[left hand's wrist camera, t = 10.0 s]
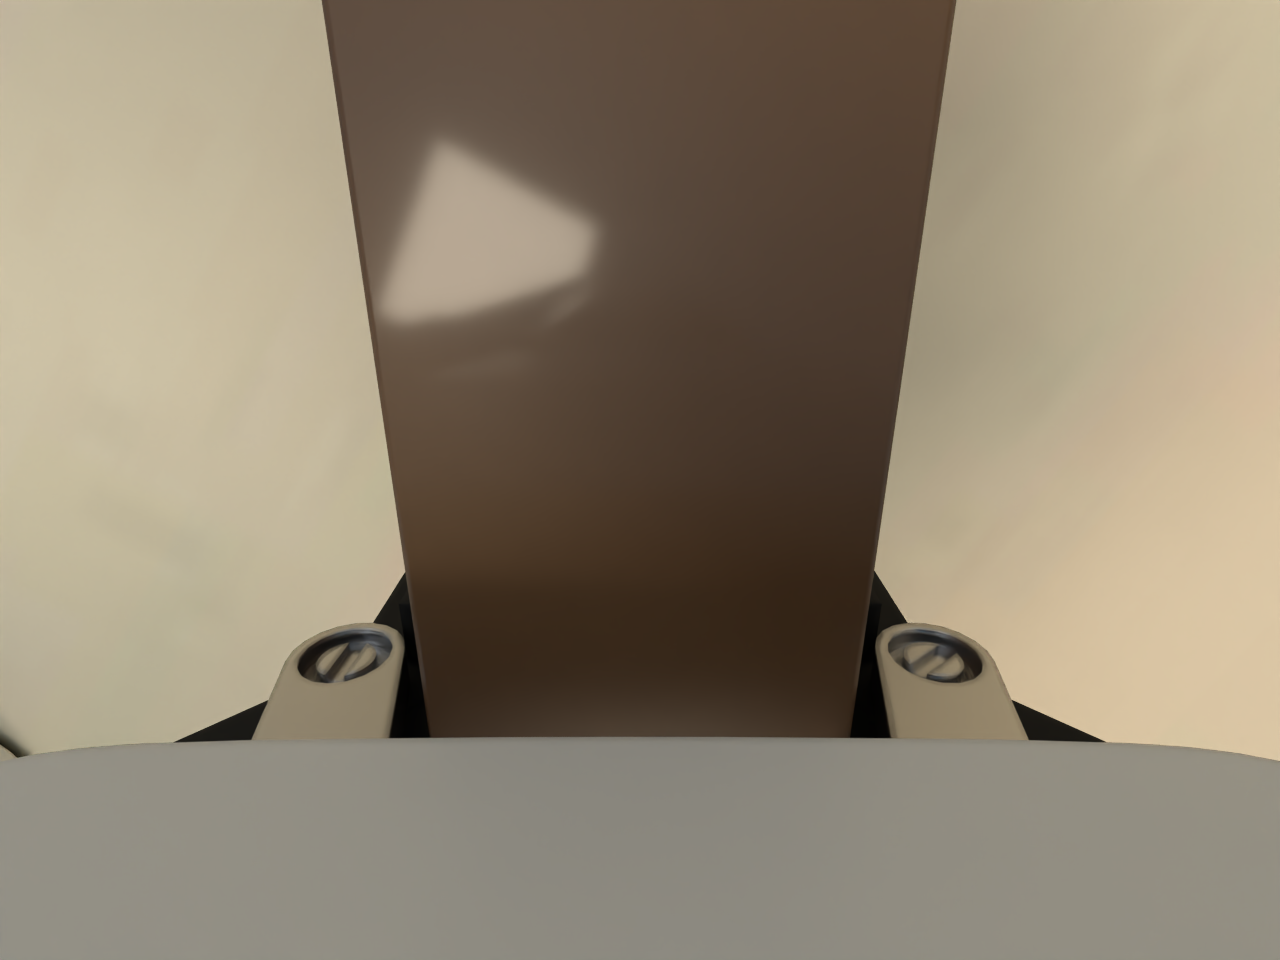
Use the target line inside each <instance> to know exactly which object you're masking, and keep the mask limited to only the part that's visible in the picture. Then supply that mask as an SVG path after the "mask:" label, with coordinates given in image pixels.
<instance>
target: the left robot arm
mask: <svg viewBox="0 0 1280 960" xmlns="http://www.w3.org/2000/svg"><path fill="white" fill-rule="evenodd" d="M0 960H1280V761H1276V760H1271V759H1266V758H1261V757H1255V756H1250V755H1245V754H1240V753H1232V752H1225V751H1217V750H1209V749H1201V748H1192V747H1180V746H1167V745H1153V744H1134V743H1108V742H1105V741H1103V740H1100V739H1098V738H1096V737H1094V736H1091V735H1089V734H1087V733H1085V732H1082V731H1080V730H1078V729H1076V728H1073V727H1071V726H1069V725H1067V724H1065V723H1062V722H1060V721H1058V720H1056V719H1053V718H1051V717H1049V716H1047V715H1044V714H1042V713H1040V712H1038V711H1035V710H1033V709H1031V708H1029V707H1026V706H1024V705H1022V704H1020V703H1018V702H1015V701H1013V700H1011V698H1010V696H1009V693H1008V691H1007V689H1006V686H1005V684H1004V682H1003V679H1002V677H1001V675H1000V672H999V670H998V668H997V666H996V663H995V661H994V660H993V658H992V657H991V656H990V654H989V653H988V651H987V650H986V649H984V648H983V647H982V646H981V645H979V644H978V643H977V642H976V641H974V640H972V639H970V638H969V637H967V636H965V635H963V634H961V633H959V632H956V631H953V630H950V629H947V628H944V627H941V626H936V625H930V624H925V623H907V621H906V620H905V618H904V617H903V615H902V614H901V612H900V610H899V609H898V607H897V606H896V604H895V603H894V601H893V599H892V598H891V596H890V595H889V593H888V592H887V590H886V588H885V587H884V585H883V584H882V582H881V580H880V579H879V577H878V576H877V574H876V573H875V571H874V574H873V581H872V588H871V595H870V602H869V609H868V616H867V623H866V630H865V637H864V644H863V651H862V658H861V664H860V671H859V678H858V685H857V692H856V699H855V706H854V713H853V720H852V727H851V734H850V738H785V737H471V738H430V736H429V729H428V722H427V716H426V709H425V702H424V695H423V688H422V681H421V675H420V668H419V661H418V654H417V647H416V640H415V634H414V627H413V620H412V613H411V606H410V599H409V593H408V586H407V579H406V572H405V573H404V575H403V577H402V578H401V580H400V581H399V583H398V584H397V586H396V588H395V589H394V591H393V592H392V594H391V595H390V597H389V599H388V600H387V602H386V603H385V605H384V607H383V608H382V610H381V611H380V613H379V614H378V616H377V618H376V619H375V621H374V622H373V623H355V624H350V625H344V626H339V627H336V628H333V629H330V630H327V631H324V632H321V633H319V634H317V635H315V636H313V637H311V638H310V639H308V640H306V641H304V642H303V643H302V644H301V645H299V646H298V647H297V648H296V649H294V650H293V651H292V653H291V654H290V655H289V657H288V658H287V660H286V661H285V663H284V666H283V668H282V670H281V672H280V675H279V677H278V679H277V682H276V684H275V686H274V689H273V691H272V693H271V696H270V698H269V700H267V701H265V702H263V703H261V704H258V705H256V706H254V707H252V708H249V709H247V710H245V711H243V712H241V713H238V714H236V715H234V716H232V717H229V718H227V719H225V720H223V721H220V722H218V723H216V724H214V725H211V726H209V727H207V728H205V729H202V730H200V731H198V732H196V733H194V734H191V735H189V736H187V737H185V738H182V739H180V740H178V741H176V742H173V743H146V744H127V745H114V746H102V747H90V748H78V749H71V750H63V751H56V752H49V753H42V754H35V755H29V756H24V757H19V758H17V757H16V756H14V755H13V754H12V753H11V752H10V751H8V750H7V749H6V748H4V747H3V746H2V745H0Z"/></svg>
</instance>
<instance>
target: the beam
mask: <svg viewBox="0 0 1280 960" xmlns="http://www.w3.org/2000/svg"><path fill="white" fill-rule="evenodd" d="M322 5H323V12H324V19H325V26H326V32H327V39H328V46H329V53H330V60H331V67H332V73H333V80H334V87H335V94H336V101H337V108H338V114H339V121H340V128H341V135H342V142H343V149H344V155H345V162H346V169H347V176H348V183H349V190H350V196H351V203H352V210H353V217H354V224H355V231H356V237H357V244H358V251H359V258H360V265H361V272H362V278H363V285H364V292H365V299H366V306H367V312H368V319H369V326H370V333H371V340H372V347H373V353H374V360H375V367H376V374H377V381H378V388H379V394H380V401H381V408H382V415H383V422H384V429H385V435H386V442H387V449H388V456H389V463H390V470H391V476H392V483H393V490H394V497H395V504H396V511H397V517H398V524H399V531H400V538H401V545H402V552H403V558H404V565H405V572H406V579H407V586H408V593H409V599H410V606H411V613H412V620H413V627H414V634H415V640H416V647H417V654H418V661H419V668H420V675H421V681H422V688H423V695H424V702H425V709H426V716H427V722H428V729H429V736H430V738H471V737H785V738H850V734H851V727H852V720H853V713H854V706H855V699H856V692H857V685H858V678H859V671H860V664H861V658H862V651H863V644H864V637H865V630H866V623H867V616H868V609H869V602H870V595H871V588H872V581H873V574H874V567H875V560H876V554H877V547H878V540H879V533H880V526H881V519H882V512H883V505H884V498H885V491H886V484H887V477H888V470H889V463H890V456H891V450H892V443H893V436H894V429H895V422H896V415H897V408H898V401H899V394H900V387H901V380H902V373H903V366H904V359H905V352H906V346H907V339H908V332H909V325H910V318H911V311H912V304H913V297H914V290H915V283H916V276H917V269H918V262H919V255H920V248H921V242H922V235H923V228H924V221H925V214H926V207H927V200H928V193H929V186H930V179H931V172H932V165H933V158H934V151H935V144H936V138H937V131H938V124H939V117H940V110H941V103H942V96H943V89H944V82H945V75H946V68H947V61H948V54H949V47H950V40H951V34H952V27H953V20H954V13H955V6H956V0H322Z"/></svg>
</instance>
